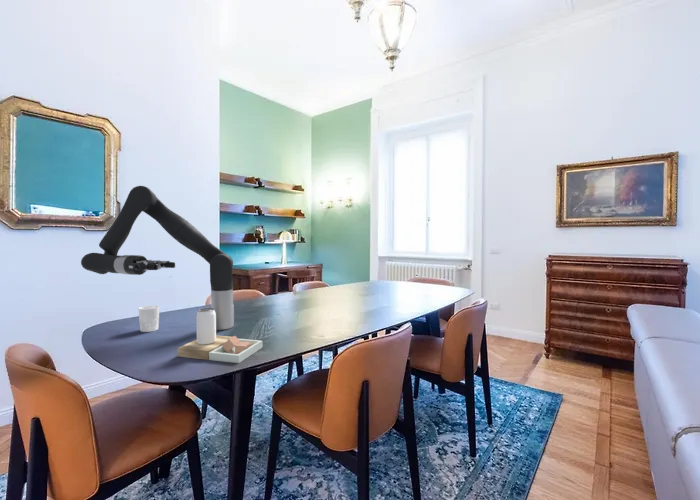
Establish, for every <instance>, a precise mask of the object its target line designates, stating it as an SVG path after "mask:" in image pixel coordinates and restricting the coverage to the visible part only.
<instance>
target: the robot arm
mask: <svg viewBox="0 0 700 500" xmlns="http://www.w3.org/2000/svg"><path fill="white" fill-rule="evenodd" d="M142 212H143V213H145V214H146V215H148V216H149V217H150V218H152V219H154V220H155V221H156V222H157V223H158V224H159V225H160V226H161V227H162V229H163V230H164V231H166V232H167V234H168V235H170V236H171V238H172V239H174V240H175V241H176V242H178V243H179V244H181V245H182V246H183V247H185V248H187V249H188V250H190V251H192V252H193V253H195V254H197V255H199V257H202V258H203V260H204V261H206V262H207V263H208V264H209V277H210V278H209V283H210V299H211V300H210V303H211V305H210V308H214V311H215V313H216V331H221V330H229V329H232V328H234V325H235V305H234V282H233V266H234V261H233V258H232V256H230V255H229V254H227V253H226V252H224V251H223V250H221V249H220V248H219V247H217V246H215V245H214V244H213V243H212V242H211V241H210V240H209V239H208V238H207V237H206V236H205V235H204V234H203V233H202V232H201V231H199V230H198V228H196V227H195V226H194V225H193V224H192V223H190V221H188V220H186V219H185V217H182V216H181V215H179V214H178V213H176V212H174V211H173V210H171V209H170V208H168V207H167V206H166V205H165V204H164V203H163V202H162V201H161V200H160V199H159V198H158V196H157V195H156V194H155V193H154V192H153V190H151V189H150V188H149V187H147V186H145V185H136V186H135V187H132V189H130V191H129V193H128V195H127V198H126V200H125V201H124V204H123V206H122V208H121V210H120V212H119V213H118V215H117V217H116V218H115V220H114V221H113V222H112V225H111V226H110V228H109V229H108V230H107V232H106V233H105V235H104V236H103V237H102V239H101V240H100V242H99V243H98V246H99V248H100V249H102V250H103V251H104V252H103V253H99V252H90V253H87V254H85V255H84V256H83V257H82V258H81V260H80V265H81V266H82V268H83V269H84V270H86V271H89V272H93V273H96V274H99V275H106V274H108V273H111V274H122V275H136V276H140V275H144V274H145V273H146V272H147V271H157V270H161V269H175V268H176V262H174V261H170V260H158V259H157V260H152V259H147V258H146V256H144V255H135V254H133V255H132V254H124V255H118V254H119V250H120V249H121V248H122V246H123V245H124V243H125V242H126V241H127V238H128V237H129V235H130V233H131V230H132V228H133V225H134V223H135V222H136V220H137V219H138V217H139V216H140V214H141V213H142Z"/></svg>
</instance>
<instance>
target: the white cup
mask: <svg viewBox="0 0 700 500" xmlns="http://www.w3.org/2000/svg"><path fill="white" fill-rule="evenodd" d="M137 310H138V321H139V330H140V332H143V333H150V332H151V333H152V332H155V331H157V330H159V325H160V324H159V323H160V305H145V306H144V305H143V306H140V307H138V309H137Z"/></svg>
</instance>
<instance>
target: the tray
mask: <svg viewBox="0 0 700 500" xmlns="http://www.w3.org/2000/svg"><path fill="white" fill-rule="evenodd" d="M238 339H239V340H240V342H250V343H251V346H250V347H249V348H247V349H246V350H244V351H242V352H241V353H239V354H235V348H234V349H233V350H231V351H229V352H228V353H227V352H226V350H225V349H224V348H223V347H222V346H223V345H222V346H220V347H219V348H217V349H215V350H213V351H211V352H209V360H208V361H215V362H216V361H218V362H225V363H233V364H235V363H236V364H240V363H241V362H242V361H244V360H246V359H248V358H249V357H250V356H252V355H253V354H255V353H256V352H258V351H259V350H261V349H263V340H257V339H247V338H238Z"/></svg>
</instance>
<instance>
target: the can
mask: <svg viewBox="0 0 700 500" xmlns="http://www.w3.org/2000/svg"><path fill="white" fill-rule="evenodd" d="M195 317H196V340H197V343H198V344H199V345H208V344H212V343H214V342H215V341H216V335H217V330H216V313H215V311H214V308H211V307H202V308H199V309H197V313H196V316H195Z"/></svg>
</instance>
